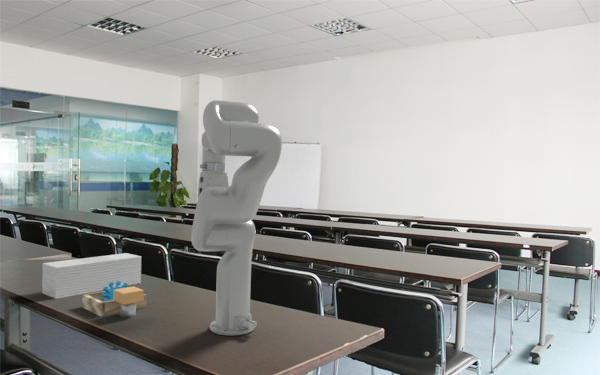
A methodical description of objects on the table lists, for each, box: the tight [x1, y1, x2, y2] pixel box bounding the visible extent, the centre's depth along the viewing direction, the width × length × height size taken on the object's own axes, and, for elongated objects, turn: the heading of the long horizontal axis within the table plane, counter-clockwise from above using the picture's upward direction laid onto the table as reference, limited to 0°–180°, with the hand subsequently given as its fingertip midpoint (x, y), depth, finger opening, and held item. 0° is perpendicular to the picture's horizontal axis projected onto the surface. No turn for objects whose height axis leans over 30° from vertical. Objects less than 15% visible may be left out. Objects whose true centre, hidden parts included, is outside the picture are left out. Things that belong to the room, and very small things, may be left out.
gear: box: [102, 281, 129, 302], centre depth 146 cm, size 11×6×10 cm
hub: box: [113, 286, 145, 305], centre depth 137 cm, size 6×6×3 cm
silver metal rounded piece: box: [119, 302, 137, 318], centre depth 137 cm, size 4×4×6 cm
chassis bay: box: [81, 286, 148, 318], centre depth 144 cm, size 13×15×4 cm
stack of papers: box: [41, 252, 142, 300], centre depth 168 cm, size 32×11×11 cm, turn 142°
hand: (212, 222), depth 153 cm, fingers closed
